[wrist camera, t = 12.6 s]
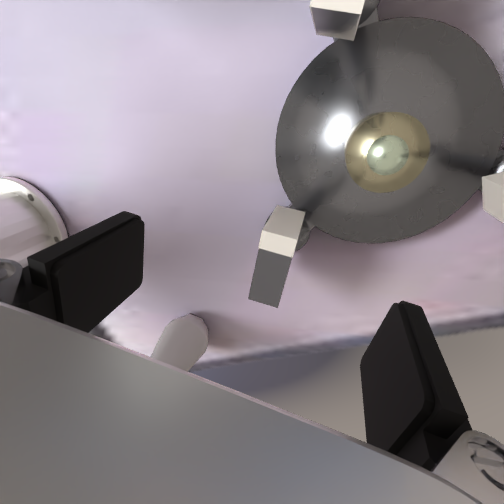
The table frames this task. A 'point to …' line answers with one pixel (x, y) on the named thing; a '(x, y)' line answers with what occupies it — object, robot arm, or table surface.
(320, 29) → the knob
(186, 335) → the salt shaker
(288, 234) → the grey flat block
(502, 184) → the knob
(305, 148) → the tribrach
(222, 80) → the table surface
